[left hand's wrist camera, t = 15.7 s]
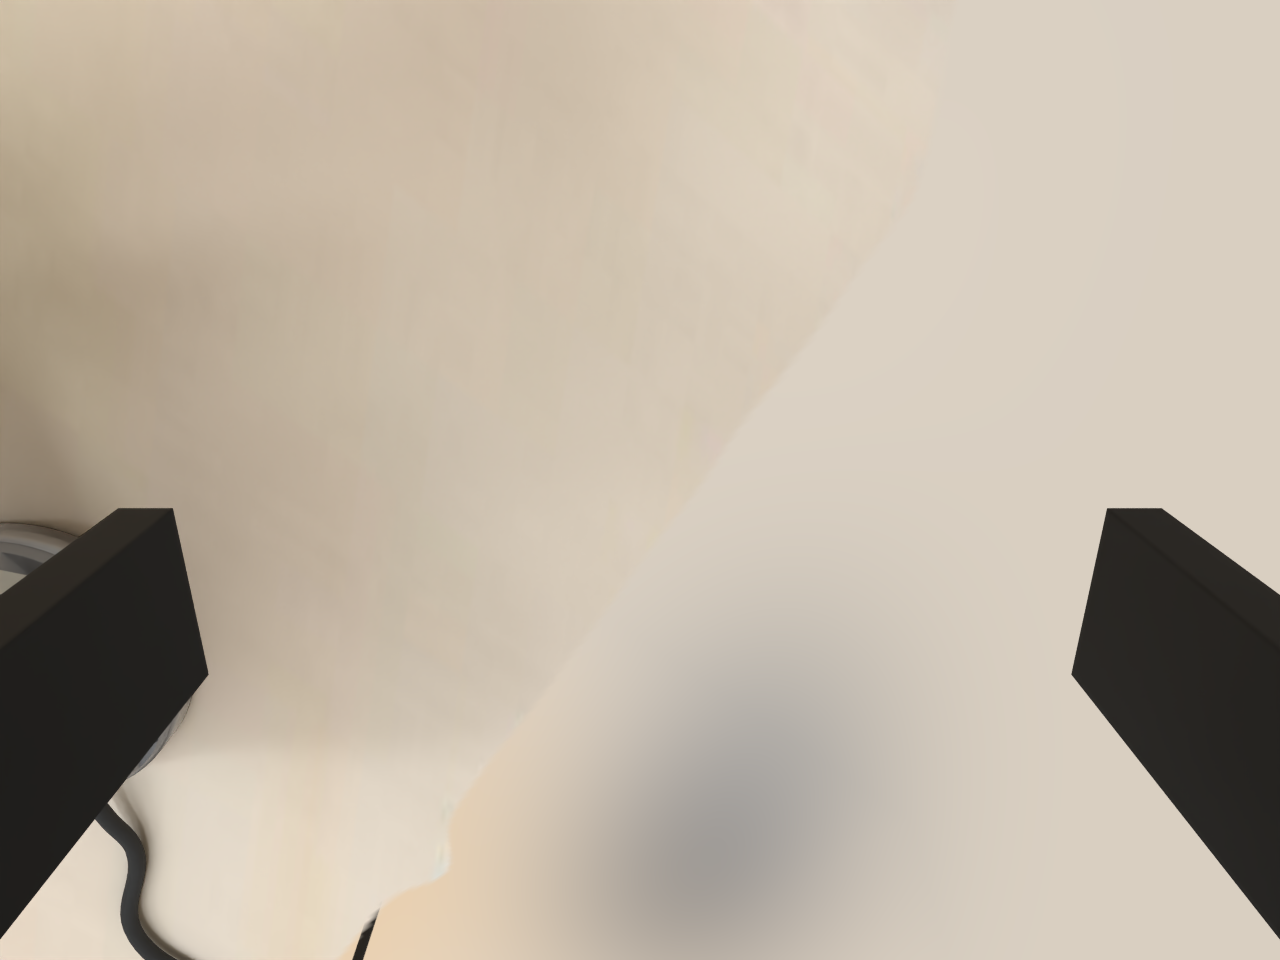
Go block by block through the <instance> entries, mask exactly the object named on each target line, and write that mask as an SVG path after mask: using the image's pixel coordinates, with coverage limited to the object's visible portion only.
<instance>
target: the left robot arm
mask: <svg viewBox="0 0 1280 960" xmlns="http://www.w3.org/2000/svg"><path fill="white" fill-rule="evenodd" d="M208 675H209V674H208V669H207V665H206V660H205V655H204V651H203V646H202V642H201V637H200V632H199V628H198V623H197V618H196V614H195V609H194V604H193V600H192V595H191V590H190V586H189V581H188V576H187V572H186V567H185V563H184V558H183V553H182V549H181V544H180V539H179V535H178V530H177V525H176V521H175V516H174V511H173V508H118V509H117V510H115V511H114V512H113V513H111V514H110V515H109V516H107V517H106V518H105V519H103V520H102V521H100V522H99V523H98V524H96V525H95V526H94V527H92V528H91V529H89V530H88V531H87V532H85V533H84V534H83V535H81V536H80V537H76V536H74V535H71V534H68V533H65V532H62V531H58V530H55V529H51V528H46V527H41V526H35V525H27V524H13V523H3V524H0V939H1V938H2V936H3V935H4V934H5V933H6V931H7V930H8V929H9V927H10V926H11V925H12V924H13V922H14V921H15V920H16V919H17V917H18V916H19V915H20V913H21V912H22V911H23V910H24V908H25V907H26V906H27V905H28V903H29V902H30V901H31V899H32V898H33V897H34V896H35V894H36V893H37V892H38V891H39V889H40V888H41V887H42V885H43V884H44V883H45V882H46V880H47V879H48V878H49V877H50V875H51V874H52V873H53V872H54V870H55V869H56V868H57V866H58V865H59V864H60V863H61V861H62V860H63V859H64V858H65V856H66V855H67V854H68V852H69V851H70V850H71V849H72V847H73V846H74V845H75V844H76V842H77V841H78V840H79V838H80V837H81V836H82V835H83V833H84V832H85V831H86V830H87V828H88V827H89V826H90V824H91V823H92V822H93V821H94V819H95V820H96V821H97V822H98V823H99V824H100V825H101V827H102V828H103V829H104V830H105V831H106V832H107V833H108V834H110V835H111V836H112V837H113V838H114V839H115V840H116V841H117V842H118V843H119V844H120V845H121V846H122V847H123V849H124V850H125V852H126V856H127V859H128V874H127V880H126V884H125V888H124V892H123V897H122V902H121V913H120V915H121V923H122V926H123V930H124V932H125V934H126V936H127V938H128V940H129V942H130V943H131V945H132V946H133V947H134V949H135V950H136V951H137V952H138V953H139V954H140V955H141V957H142V958H144V959H145V960H176V959H175V958H173V957H172V956H170V955H168V954H167V953H166V952H164V951H163V950H161V949H160V948H159V947H158V946H157V945H155V944H154V943H153V942H152V940H151V939H150V938H149V937H148V936H147V934H146V933H145V932H144V930H143V928H142V926H141V924H140V921H139V917H138V902H139V897H140V893H141V889H142V885H143V881H144V876H145V870H146V858H145V852H144V848H143V846H142V843H141V841H140V839H139V837H138V836H137V834H136V833H135V832H134V831H133V829H132V828H131V827H130V826H129V825H127V824H126V823H125V822H124V821H123V820H122V819H121V818H120V817H119V816H118V815H117V814H116V813H115V812H114V810H113V809H112V808H111V807H110V806H109V804H108V802H109V800H110V799H111V798H112V797H113V795H114V794H115V793H116V791H117V790H118V789H119V788H120V786H121V785H122V784H123V783H124V781H125V780H126V779H127V778H129V777H131V776H133V775H135V774H136V773H137V772H139V771H140V770H142V769H143V768H144V767H145V766H147V765H148V764H149V763H150V762H151V761H152V760H153V759H154V758H155V757H156V755H157V754H158V753H159V752H160V751H161V749H162V748H163V747H164V745H165V744H166V743H167V741H168V740H169V739H170V738H171V736H172V735H173V734H174V732H175V731H176V730H177V728H178V727H179V725H180V724H181V722H182V721H183V718H184V716H185V714H186V712H187V710H188V707H189V704H190V701H191V696H192V695H193V694H194V692H195V691H196V690H197V689H198V687H199V686H200V685H201V683H202V682H203V681H204V680H205V678H206V677H207V676H208ZM1072 676H1073V677H1074V678H1075V680H1076V681H1077V682H1078V683H1079V685H1080V686H1081V687H1082V688H1083V690H1084V691H1085V692H1086V693H1087V695H1088V696H1089V697H1090V699H1091V700H1092V701H1093V702H1094V704H1095V705H1096V706H1097V708H1098V709H1099V710H1100V711H1101V713H1102V714H1103V715H1104V716H1105V718H1106V719H1107V720H1108V722H1109V723H1110V724H1111V725H1112V727H1113V728H1114V729H1115V730H1116V732H1117V733H1118V734H1119V736H1120V737H1121V738H1122V739H1123V741H1124V742H1125V743H1126V744H1127V746H1128V747H1129V748H1130V749H1131V751H1132V752H1133V753H1134V755H1135V756H1136V757H1137V758H1138V760H1139V761H1140V762H1141V763H1142V765H1143V766H1144V767H1145V768H1146V770H1147V771H1148V772H1149V774H1150V775H1151V776H1152V777H1153V779H1154V780H1155V781H1156V783H1157V784H1158V785H1159V786H1160V788H1161V789H1162V790H1163V791H1164V793H1165V794H1166V795H1167V796H1168V798H1169V799H1170V800H1171V802H1172V803H1173V804H1174V805H1175V807H1176V808H1177V809H1178V811H1179V812H1180V813H1181V814H1182V816H1183V817H1184V818H1185V819H1186V821H1187V822H1188V823H1189V824H1190V826H1191V827H1192V828H1193V830H1194V831H1195V832H1196V833H1197V835H1198V836H1199V837H1200V838H1201V840H1202V841H1203V842H1204V843H1205V845H1206V846H1207V847H1208V849H1209V850H1210V851H1211V852H1212V854H1213V855H1214V856H1215V858H1216V859H1217V860H1218V861H1219V863H1220V864H1221V865H1222V866H1223V868H1224V869H1225V870H1226V872H1227V873H1228V874H1229V875H1230V877H1231V878H1232V879H1233V880H1234V882H1235V883H1236V884H1237V885H1238V887H1239V888H1240V889H1241V891H1242V892H1243V893H1244V894H1245V896H1246V897H1247V898H1248V899H1249V901H1250V902H1251V903H1252V905H1253V906H1254V907H1255V908H1256V910H1257V911H1258V912H1259V913H1260V915H1261V916H1262V917H1263V918H1264V920H1265V921H1266V922H1267V924H1268V925H1269V926H1270V927H1271V929H1272V930H1273V931H1274V933H1275V934H1276V935H1277V936H1278V938H1279V939H1280V595H1279V594H1278V593H1276V592H1275V591H1274V590H1272V589H1271V588H1270V587H1268V586H1267V585H1266V584H1264V583H1263V582H1261V581H1260V580H1259V579H1257V578H1256V577H1255V576H1253V575H1252V574H1251V573H1249V572H1248V571H1246V570H1245V569H1244V568H1242V567H1241V566H1240V565H1238V564H1237V563H1236V562H1234V561H1233V560H1231V559H1230V558H1229V557H1227V556H1226V555H1225V554H1223V553H1222V552H1221V551H1219V550H1218V549H1216V548H1215V547H1214V546H1212V545H1211V544H1210V543H1208V542H1207V541H1206V540H1204V539H1203V538H1201V537H1200V536H1199V535H1197V534H1196V533H1195V532H1193V531H1192V530H1190V529H1189V528H1188V527H1186V526H1185V525H1184V524H1182V523H1181V522H1179V521H1178V520H1177V519H1175V518H1174V517H1173V516H1171V515H1170V514H1169V513H1167V512H1166V511H1165V510H1163V509H1162V508H1107V511H1106V516H1105V521H1104V525H1103V530H1102V535H1101V539H1100V544H1099V549H1098V553H1097V558H1096V563H1095V567H1094V572H1093V577H1092V581H1091V586H1090V591H1089V595H1088V600H1087V605H1086V609H1085V614H1084V618H1083V623H1082V628H1081V632H1080V637H1079V642H1078V646H1077V651H1076V655H1075V660H1074V665H1073V669H1072ZM378 913H379V911H378V912H377V913H376V915H375V916H374V918H373V919H372V920H371V921H370V922H369V923H368V924H367V925H366V926H365V928H364V929H363V931H362V932H361V935H360V938H359V941H358V944H357V947H356V950H355V953H354V956H353V959H352V960H363V959H364V956H365V953H366V949H367V946H368V943H369V940H370V937H371V934H372V931H373V928H374V925H375V922H376V919H377V916H378Z"/></svg>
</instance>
